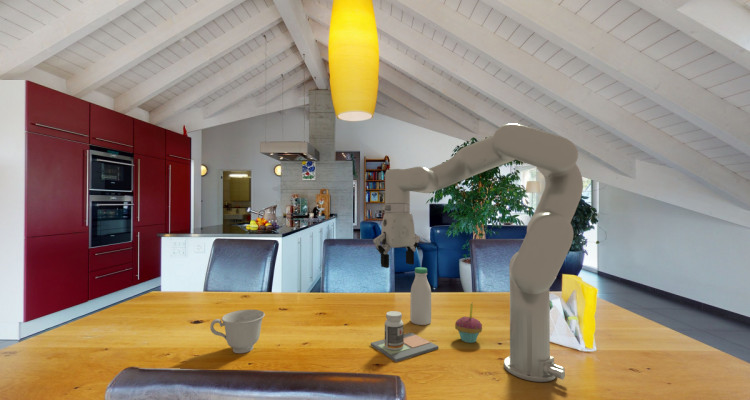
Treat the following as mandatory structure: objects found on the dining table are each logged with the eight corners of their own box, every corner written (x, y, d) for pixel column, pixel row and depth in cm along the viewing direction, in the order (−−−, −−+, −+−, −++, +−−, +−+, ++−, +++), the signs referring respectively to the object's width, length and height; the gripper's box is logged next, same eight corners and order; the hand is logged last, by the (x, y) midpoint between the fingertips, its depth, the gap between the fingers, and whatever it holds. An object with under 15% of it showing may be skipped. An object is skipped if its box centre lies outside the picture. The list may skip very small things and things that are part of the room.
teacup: (211, 346, 100) (211, 313, 100) (262, 338, 106) (263, 307, 106) (208, 363, 89) (209, 326, 89) (266, 354, 95) (266, 319, 95)
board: (438, 348, 99) (438, 345, 99) (396, 362, 90) (396, 358, 90) (410, 334, 110) (410, 331, 110) (370, 345, 101) (370, 342, 101)
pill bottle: (407, 346, 98) (407, 313, 98) (395, 352, 94) (395, 318, 94) (392, 341, 102) (392, 309, 102) (380, 347, 98) (380, 313, 98)
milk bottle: (432, 325, 118) (432, 270, 119) (411, 325, 119) (411, 270, 119) (429, 318, 126) (429, 266, 127) (409, 318, 126) (409, 266, 127)
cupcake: (464, 332, 112) (464, 297, 112) (487, 340, 106) (487, 302, 106) (450, 339, 106) (450, 302, 106) (474, 348, 100) (474, 308, 100)
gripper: (381, 209, 93) (382, 270, 92) (426, 209, 102) (427, 264, 102) (367, 209, 99) (367, 266, 98) (410, 209, 109) (411, 261, 108)
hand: (397, 265), depth 100 cm, fingers open, 9 cm apart
